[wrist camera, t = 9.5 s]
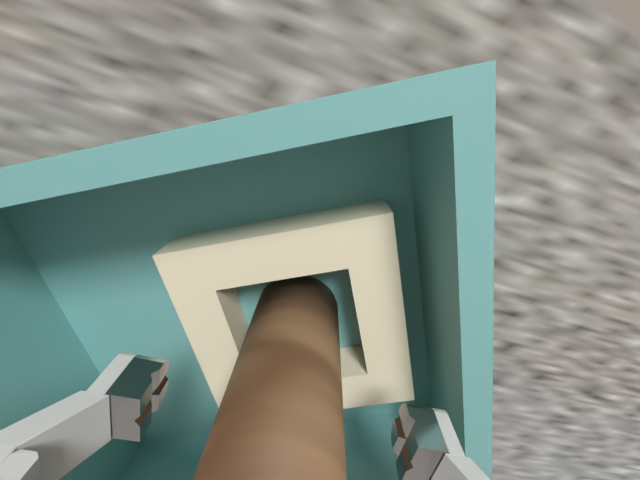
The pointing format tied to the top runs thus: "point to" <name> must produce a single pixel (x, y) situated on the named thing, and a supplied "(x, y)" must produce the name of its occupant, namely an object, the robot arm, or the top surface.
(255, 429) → the peg
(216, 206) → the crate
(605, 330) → the top surface
